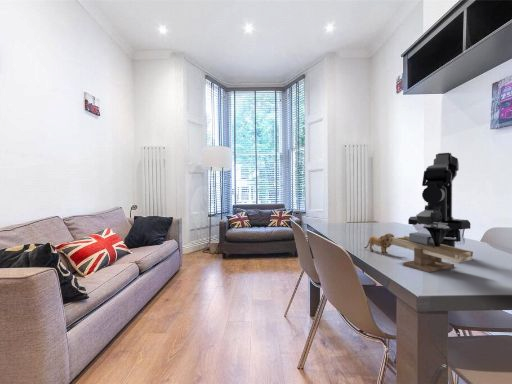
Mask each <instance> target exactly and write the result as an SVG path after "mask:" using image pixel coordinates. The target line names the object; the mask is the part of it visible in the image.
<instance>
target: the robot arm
mask: <svg viewBox="0 0 512 384" xmlns="http://www.w3.org/2000/svg"><path fill="white" fill-rule="evenodd" d="M459 164H460V163H459V158H457V157H456V156H453V155H452V153H451V152H439V153H437V154H435V158H434V159H433V164H431V165H429V166H427V167H426V169H425V170H424V172H423V176H422V183H421V186H422V187H426V188H424V189H423V191H422V193H421V195H422V196H421V197H422V199H423V200H424V202H426V203H427V205H425V206H424V210H422V211H420V212H419V213H418V214H416V215H414V216H409V218H408V219H407V221H408V225H414V226H416V225H424V226H423V227H422V228H423V229H425V230H427V232H428V234H429V235H431V237H432V239H433V241H434V244H435V246H436V247H439V246H440V244H443V245H447V246H451V247H455V248H456V243H459V242H461V230H467V229H468V230H470V229H471V222H470V221H469V220H468V219H459V218H457V219H454V217H453V181H454V179H455V178H456V177H457V173H458V171H459V169H460V168H459Z"/></svg>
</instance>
